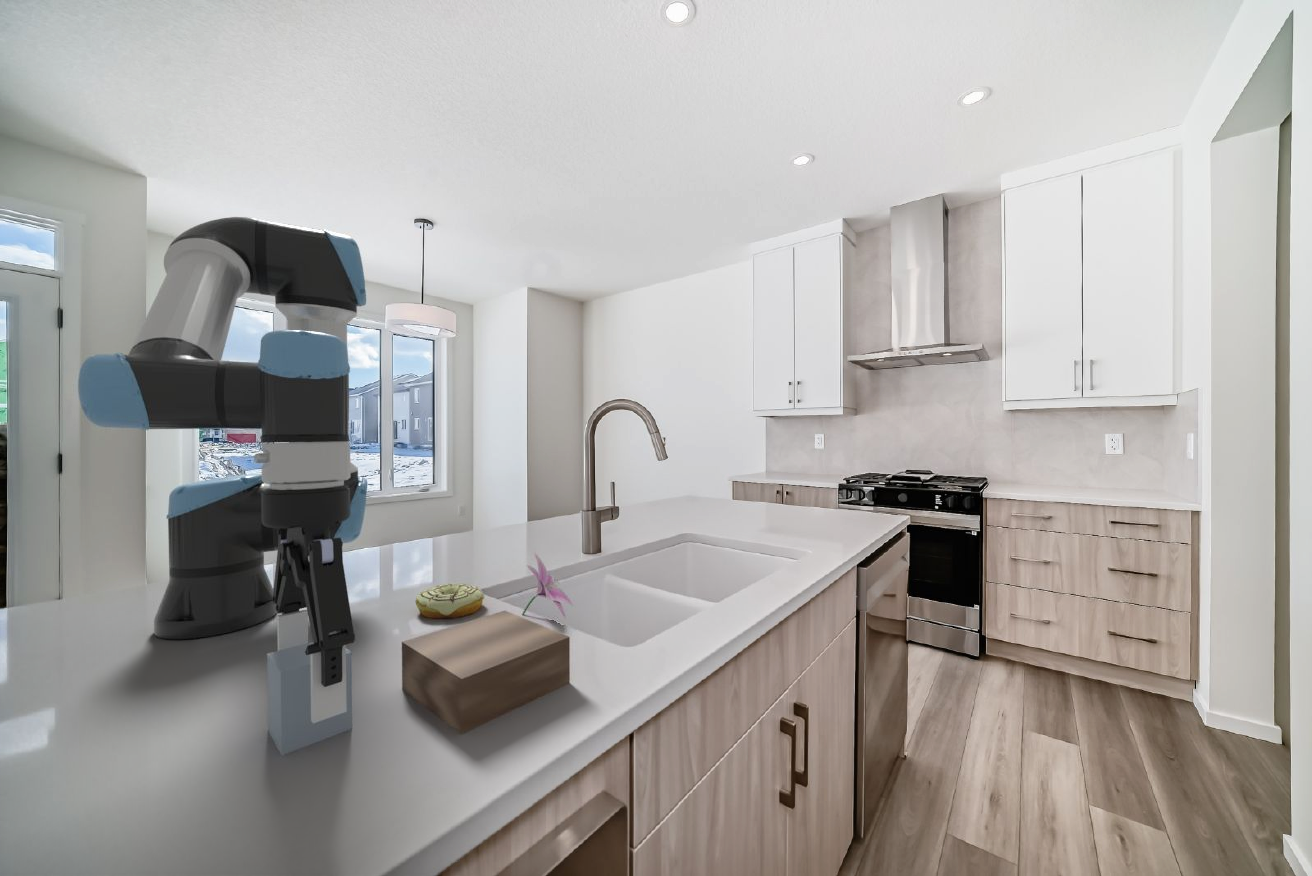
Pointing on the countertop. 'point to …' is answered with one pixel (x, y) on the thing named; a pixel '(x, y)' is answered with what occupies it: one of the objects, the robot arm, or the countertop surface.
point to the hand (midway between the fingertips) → (309, 692)
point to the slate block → (299, 701)
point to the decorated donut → (449, 600)
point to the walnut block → (484, 668)
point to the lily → (548, 587)
